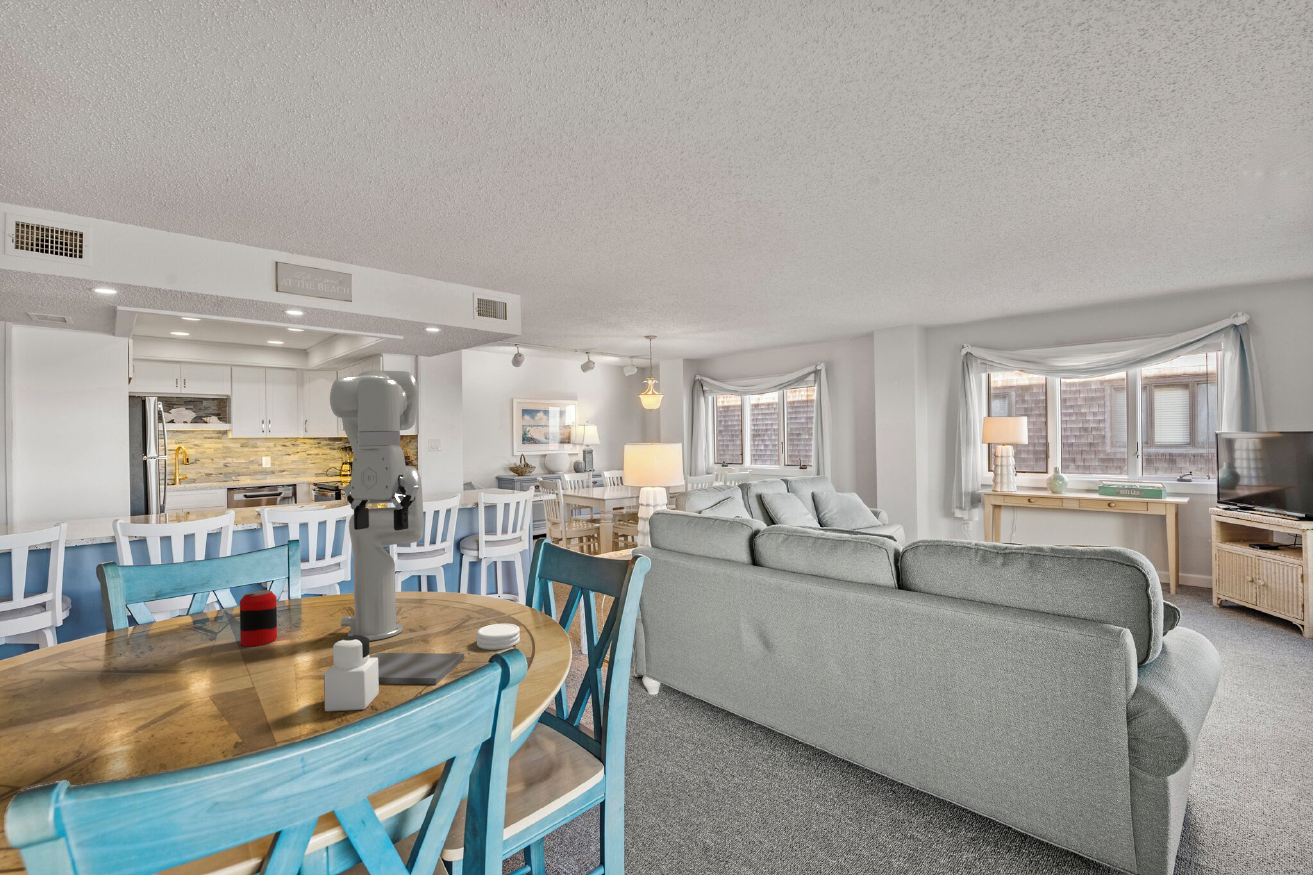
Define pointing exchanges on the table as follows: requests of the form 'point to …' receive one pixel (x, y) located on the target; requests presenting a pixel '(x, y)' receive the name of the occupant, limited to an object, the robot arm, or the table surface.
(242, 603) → the soda can
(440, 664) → the charcoal board
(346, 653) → the medicine bottle
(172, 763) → the table surface
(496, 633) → the coaster
